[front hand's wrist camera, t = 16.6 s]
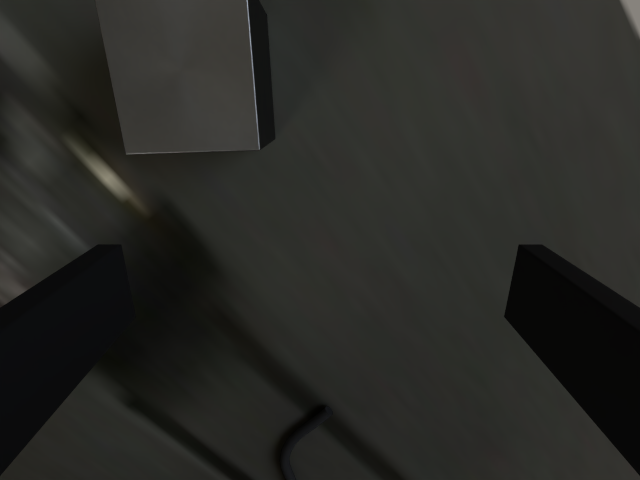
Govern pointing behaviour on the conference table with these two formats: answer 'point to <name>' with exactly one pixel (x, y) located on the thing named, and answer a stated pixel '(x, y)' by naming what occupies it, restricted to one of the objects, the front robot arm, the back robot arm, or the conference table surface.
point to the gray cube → (189, 74)
